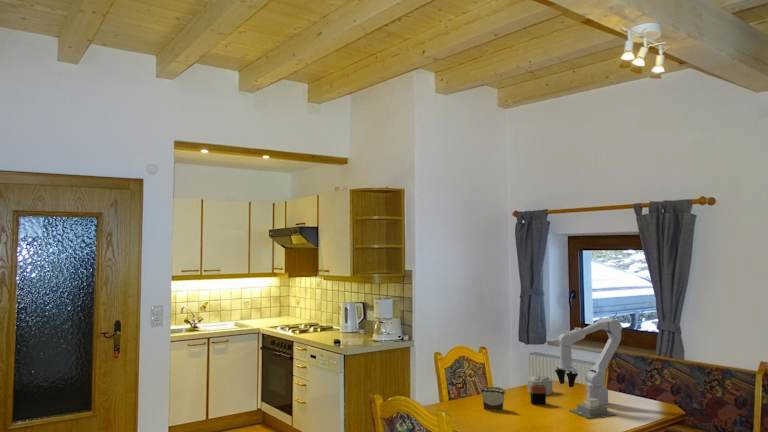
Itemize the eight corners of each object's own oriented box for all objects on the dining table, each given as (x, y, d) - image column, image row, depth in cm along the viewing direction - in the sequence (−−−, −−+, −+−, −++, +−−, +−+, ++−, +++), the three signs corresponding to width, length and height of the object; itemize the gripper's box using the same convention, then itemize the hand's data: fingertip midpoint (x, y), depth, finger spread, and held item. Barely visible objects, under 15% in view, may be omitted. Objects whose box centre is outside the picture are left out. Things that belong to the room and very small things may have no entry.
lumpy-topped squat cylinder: (525, 391, 322) (525, 375, 322) (547, 389, 324) (547, 374, 325) (534, 395, 311) (533, 379, 312) (556, 394, 314) (556, 377, 314)
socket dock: (596, 407, 285) (596, 400, 285) (616, 415, 272) (616, 407, 272) (569, 411, 280) (568, 403, 280) (587, 418, 267) (587, 410, 267)
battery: (546, 404, 292) (545, 384, 293) (532, 405, 292) (532, 385, 292) (543, 402, 296) (542, 382, 297) (530, 402, 296) (529, 383, 297)
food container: (508, 408, 286) (508, 387, 287) (505, 411, 281) (505, 390, 281) (484, 405, 291) (483, 385, 292) (480, 408, 286) (480, 388, 286)
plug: (593, 410, 279) (593, 397, 279) (599, 412, 275) (598, 399, 275) (585, 411, 277) (584, 398, 277) (590, 413, 273) (590, 400, 274)
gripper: (550, 356, 300) (551, 382, 299) (567, 361, 286) (568, 389, 285) (562, 355, 302) (562, 381, 301) (579, 360, 288) (580, 387, 287)
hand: (566, 385), depth 293 cm, fingers open, 7 cm apart
